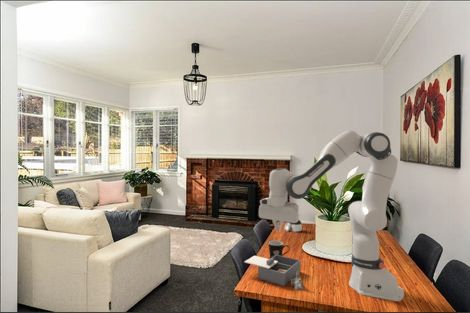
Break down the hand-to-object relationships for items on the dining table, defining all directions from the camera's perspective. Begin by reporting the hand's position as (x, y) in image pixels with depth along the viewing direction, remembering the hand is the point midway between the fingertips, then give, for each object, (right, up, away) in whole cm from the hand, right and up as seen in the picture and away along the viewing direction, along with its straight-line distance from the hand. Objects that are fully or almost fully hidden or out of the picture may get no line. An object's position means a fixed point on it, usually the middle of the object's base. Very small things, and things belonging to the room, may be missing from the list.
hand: (278, 229), depth 135 cm
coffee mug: (+4, -25, +24) cm, 35 cm away
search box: (+2, -25, +5) cm, 25 cm away
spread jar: (+24, -25, +84) cm, 91 cm away
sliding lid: (-8, -18, +5) cm, 21 cm away
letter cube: (+2, -24, -1) cm, 24 cm away
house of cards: (+6, -25, -5) cm, 26 cm away
